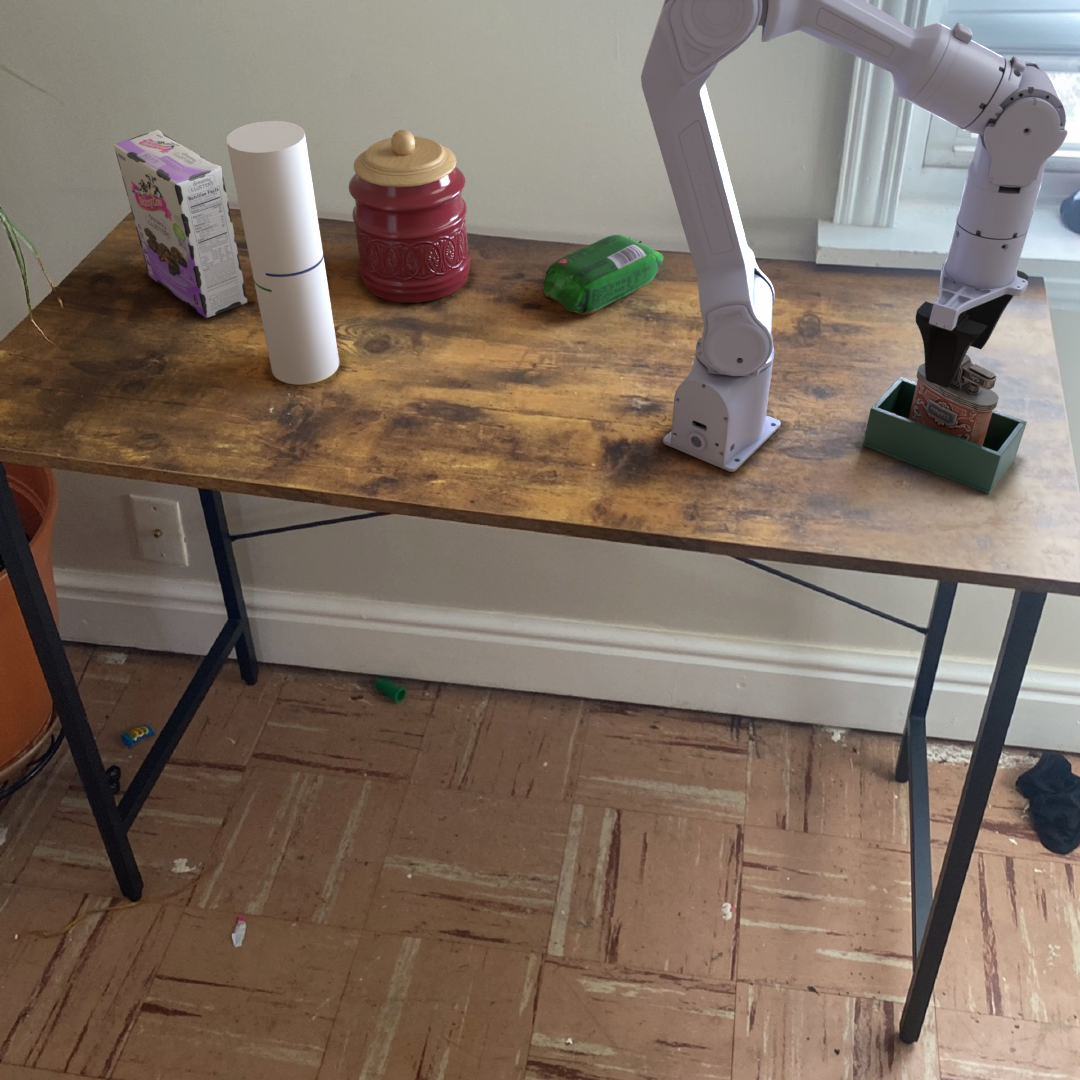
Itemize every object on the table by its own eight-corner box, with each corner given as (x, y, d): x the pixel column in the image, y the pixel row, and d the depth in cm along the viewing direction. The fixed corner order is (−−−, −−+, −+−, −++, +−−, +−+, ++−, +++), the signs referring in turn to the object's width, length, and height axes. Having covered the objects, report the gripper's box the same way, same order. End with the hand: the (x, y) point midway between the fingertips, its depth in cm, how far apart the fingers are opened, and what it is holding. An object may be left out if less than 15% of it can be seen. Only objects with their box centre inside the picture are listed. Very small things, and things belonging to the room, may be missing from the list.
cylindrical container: (326, 387, 122) (288, 155, 105) (261, 380, 123) (213, 149, 106) (348, 350, 127) (315, 123, 110) (285, 344, 128) (244, 118, 111)
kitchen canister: (391, 243, 145) (376, 101, 133) (488, 261, 141) (481, 116, 130) (341, 294, 136) (319, 146, 124) (442, 314, 132) (430, 163, 121)
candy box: (146, 276, 140) (110, 142, 129) (190, 259, 143) (158, 126, 132) (205, 320, 132) (173, 181, 121) (250, 302, 135) (222, 164, 124)
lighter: (895, 436, 113) (915, 347, 107) (917, 422, 115) (938, 334, 108) (965, 476, 109) (990, 385, 102) (987, 461, 110) (1014, 371, 104)
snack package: (673, 281, 137) (676, 240, 134) (575, 329, 129) (575, 286, 126) (630, 260, 141) (632, 219, 138) (532, 305, 134) (531, 263, 130)
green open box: (988, 494, 107) (1000, 456, 104) (862, 445, 113) (870, 408, 110) (1015, 459, 111) (1027, 421, 108) (891, 413, 117) (899, 376, 114)
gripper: (1006, 273, 91) (966, 416, 100) (1070, 204, 99) (1028, 342, 108) (920, 247, 94) (888, 388, 103) (989, 182, 103) (954, 318, 112)
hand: (955, 363), depth 106 cm, fingers open, 7 cm apart
